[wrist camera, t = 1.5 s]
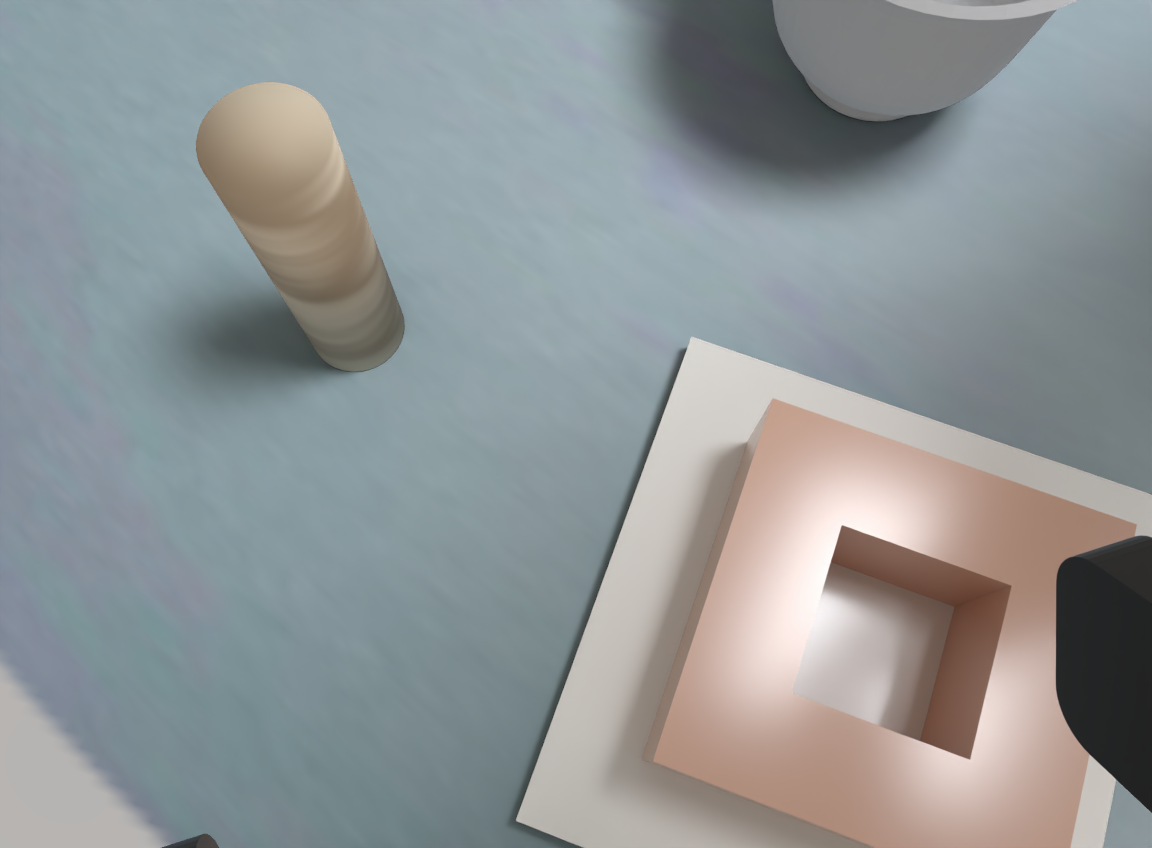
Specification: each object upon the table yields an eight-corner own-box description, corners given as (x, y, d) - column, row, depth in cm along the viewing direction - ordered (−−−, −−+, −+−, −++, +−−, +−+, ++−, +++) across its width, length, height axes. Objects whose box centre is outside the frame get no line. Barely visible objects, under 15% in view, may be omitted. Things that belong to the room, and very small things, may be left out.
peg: (334, 273, 38) (233, 66, 26) (419, 302, 37) (354, 105, 26) (294, 353, 37) (172, 174, 25) (381, 384, 36) (297, 217, 25)
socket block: (688, 347, 37) (708, 280, 32) (1154, 507, 35) (1257, 465, 30) (517, 818, 32) (507, 832, 27) (1049, 1030, 30) (1149, 1089, 25)
